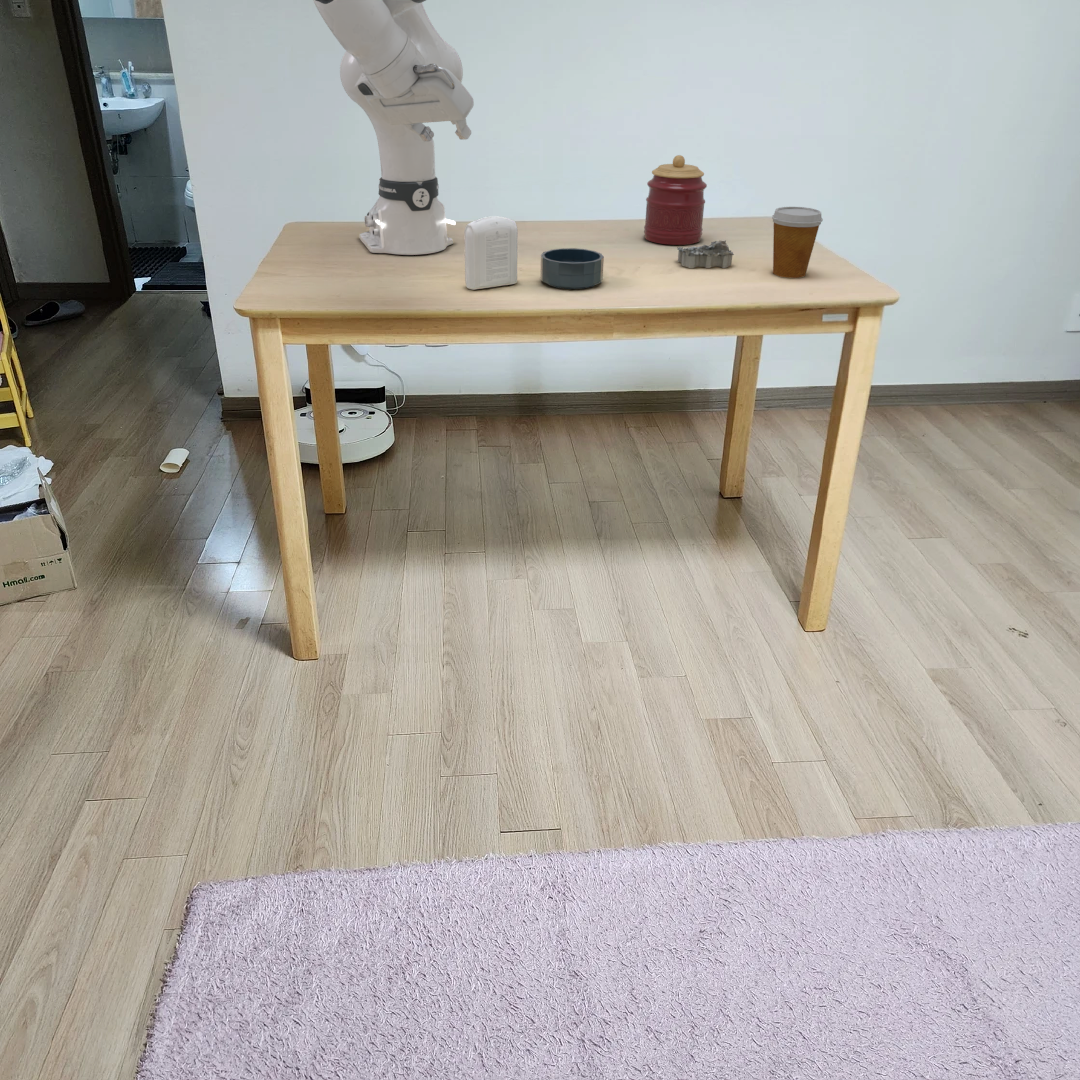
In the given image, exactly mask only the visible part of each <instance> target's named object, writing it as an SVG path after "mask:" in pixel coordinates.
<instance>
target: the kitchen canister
mask: <svg viewBox="0 0 1080 1080" xmlns="http://www.w3.org/2000/svg"><path fill="white" fill-rule="evenodd" d="M685 163H686V159H685V157H684V156H683V155H681V154H677V155H675V156H674V157H673V158H672V163H664V164H660V165H658V166H657V167H656V168H655V169H653V170H652V171H651V174H652V175H653V176H652V178H651V179H650V180H648V181H647V182H646V183H647V186H648V188H649V189H648V195H647V196H646V198H645V201H646V208H645V220H644V221H645V224H644V226H643V228H644V229H643V233H644V239H645V240H647V241H648V242H651V243H654V244H655V243H656V244H661V245H668V246H684V245H693V244H697V243H699V242H700V241H701V238H702V235H703V220H704V210H705V204H706V199H705V197H704V196H705V195H704V194H705V189H706V188H707V187H708V186H707V185H708V184H707V183H706V182H705V181H704V180H703V176H704V175H705V173H704V171H702V170H701V169H700V168H699V167H698V166H697V165H694V164H685Z"/></svg>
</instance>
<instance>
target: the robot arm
mask: <svg viewBox="0 0 1080 1080" xmlns="http://www.w3.org/2000/svg"><path fill="white" fill-rule="evenodd" d="M312 1H313V3H314V5H315V7H316V9H317V12H318V13H319V14H320V16H321V18H322V20H323V21H324V22H325V25H326V26H327V27H328V29H329V31H330V32H331V33H332V35H333V36H334V37H335V39H336V40H337V42H338V43H339V45H341V47H342V48H343V49H344V50H345V52H344V54H343V56H342V58H341V61H340V65H339V66H340V67H339V76H340V77H339V78H340V82H341V85H342V88H343V90H344V91H345V93H346V94H347V97H349V98H350V99H351V100H352V101H353V102H354V103H355V104H357V105H358V106H359V107H360V108H361V109H362V110H363V112H364V113H365V114H366V116H367V117H368V119H369V121H370V122H371V125H372V127H373V130H374V132H375V136H376V139H377V140H376V141H377V145H378V153H379V154H378V155H379V161H380V175H381V176H380V178H379V180H378V181H379V182H378V196H379V197H378V199H377V200H376V201H375V203H374V204H373V205H372V207H371V208H370V209H369V211H368V212H367V213H366V215H364V225H365V227H366V228H369V229H368V230H369V231H368V230H367V231H364V232H361V233H359V235H358V236H359V240H360V241H361V243H362V244H363V245H364V247H366V249H367V250H368V251H369V252H370V253H373V254H390V255H403V256H414V255H415V256H416V255H417V256H418V255H427V254H428V255H429V254H434V253H438V252H442V251H444V250H445V249H447V247H448V246H450V245H453V244H454V241H453V238H452V237H450V236H448V230H447V229H448V227H447V224H450V225H453V226H456V221H455V220H452V219H448V218H446V211H445V209H446V208H445V205H444V203H442V202H441V201H440V200H439V198H438V196H439V189H440V187H439V180H438V179H439V178H438V177H437V176H436V157H435V156H436V154H435V141H434V136H435V133H434V131H433V130H432V128H431V127H430V126H427V125H425V123H427V124H428V123H440V122H441V123H443V122H450V123H451V124H452V125H455V127H456V130H455V132H454V133H455V135H456V136H457V138H459V140H469V139H470V137H471V135H472V130H471V128H470V127H469V125H468V124H467V118H468V116H469V114H470V113H471V111H472V109H473V108H474V105H475V103H474V97H473V96H472V94H471V93H470V92H469V90H467V88H466V87H465V86H464V84H463V83H462V82H463V78H464V77H463V76H464V69H463V68H464V67H463V63H462V60H461V57H460V56H459V55H460V54H459V53H458V52H457V50H456V49H455V48H454V47H453V46H452V45H450V44H449V43H448V42H447V41H445V40H444V38H443V37H442V36H441V35H440V33H438V31H437V30H436V28H435V27H434V25H433V23H432V22H431V20H430V18H429V16H428V14H427V12H426V9H425V6H424V4H423V3H424V2H426V1H427V0H312Z"/></svg>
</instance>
